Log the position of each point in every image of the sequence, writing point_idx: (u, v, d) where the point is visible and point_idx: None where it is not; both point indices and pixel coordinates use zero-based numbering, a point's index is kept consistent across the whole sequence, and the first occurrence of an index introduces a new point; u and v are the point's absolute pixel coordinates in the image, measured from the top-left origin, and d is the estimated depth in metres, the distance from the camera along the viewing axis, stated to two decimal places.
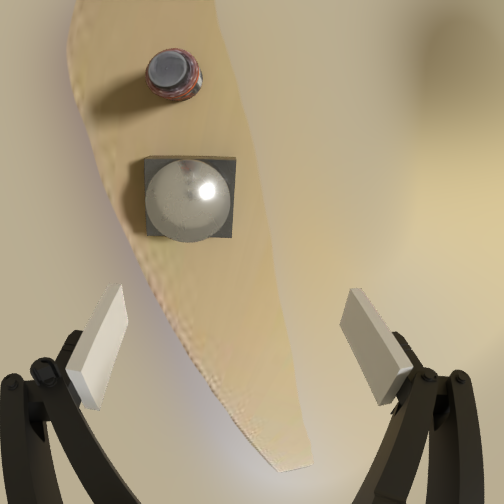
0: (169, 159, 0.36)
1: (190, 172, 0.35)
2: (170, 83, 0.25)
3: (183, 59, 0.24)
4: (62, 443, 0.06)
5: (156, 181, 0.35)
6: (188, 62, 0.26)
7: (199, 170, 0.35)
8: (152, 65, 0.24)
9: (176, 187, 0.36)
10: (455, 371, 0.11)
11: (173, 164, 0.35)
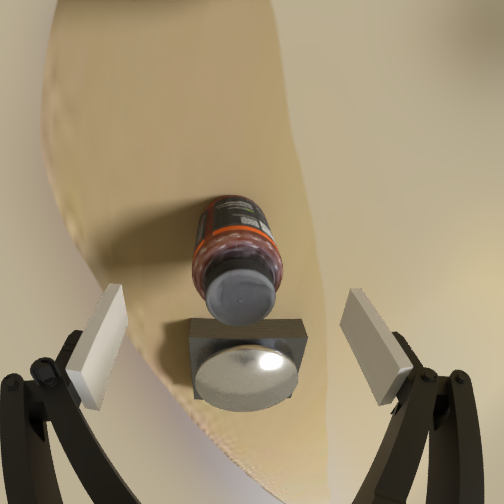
0: (222, 338, 0.28)
1: (253, 361, 0.28)
2: (247, 322, 0.17)
3: (270, 286, 0.16)
4: (62, 443, 0.06)
5: (209, 368, 0.28)
6: (271, 270, 0.18)
7: (265, 359, 0.28)
8: (213, 294, 0.16)
9: (235, 374, 0.28)
10: (455, 371, 0.11)
11: (232, 354, 0.27)
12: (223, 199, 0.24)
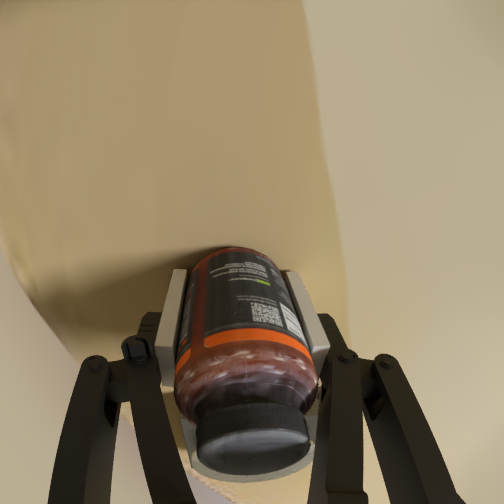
0: None
1: None
2: (263, 472, 0.09)
3: (305, 442, 0.08)
4: (134, 419, 0.08)
5: None
6: (303, 401, 0.10)
7: None
8: (210, 455, 0.08)
9: None
10: (378, 356, 0.12)
11: None
12: (221, 256, 0.16)
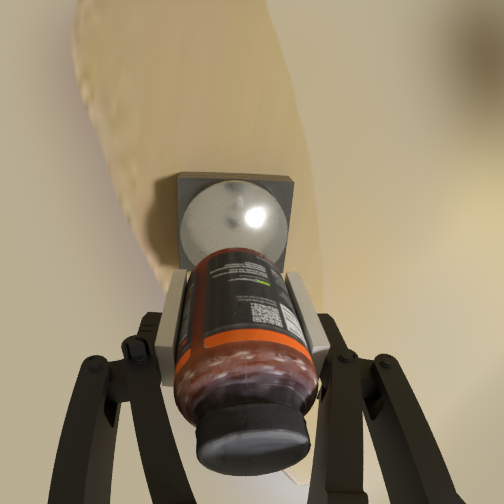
0: (210, 179, 0.29)
1: (239, 197, 0.29)
2: (263, 473, 0.09)
3: (305, 442, 0.08)
4: (135, 419, 0.08)
5: (195, 208, 0.29)
6: (303, 401, 0.10)
7: (251, 195, 0.29)
8: (210, 455, 0.08)
9: (221, 216, 0.29)
10: (378, 356, 0.12)
11: (218, 186, 0.28)
12: (221, 257, 0.16)
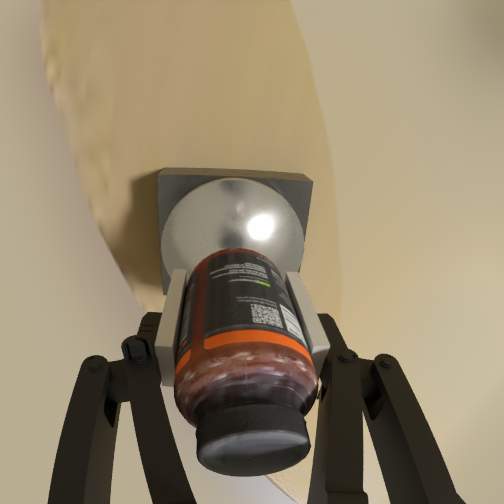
0: (201, 176, 0.22)
1: (240, 201, 0.21)
2: (263, 473, 0.09)
3: (304, 443, 0.08)
4: (135, 419, 0.08)
5: (180, 215, 0.21)
6: (303, 402, 0.10)
7: (257, 198, 0.21)
8: (210, 456, 0.08)
9: (215, 226, 0.22)
10: (378, 356, 0.12)
11: (211, 186, 0.20)
12: (221, 257, 0.16)
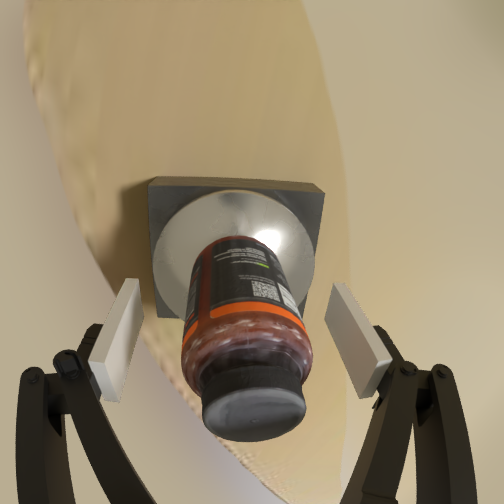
0: (197, 187, 0.19)
1: (243, 217, 0.18)
2: (263, 438, 0.11)
3: (300, 403, 0.10)
4: (80, 435, 0.07)
5: (173, 233, 0.18)
6: (298, 369, 0.11)
7: (261, 214, 0.18)
8: (214, 416, 0.09)
9: None
10: (436, 365, 0.11)
11: (209, 199, 0.18)
12: (224, 243, 0.17)
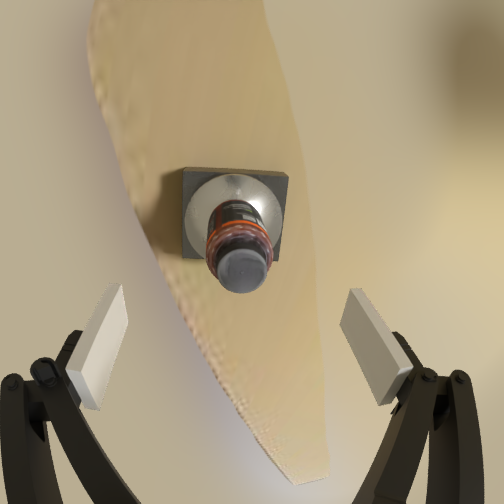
0: (212, 172, 0.32)
1: (239, 189, 0.32)
2: (246, 290, 0.24)
3: (263, 262, 0.23)
4: (62, 443, 0.06)
5: (198, 198, 0.32)
6: (264, 252, 0.25)
7: (250, 187, 0.32)
8: (223, 267, 0.23)
9: None
10: (455, 371, 0.11)
11: (220, 179, 0.31)
12: (228, 202, 0.31)
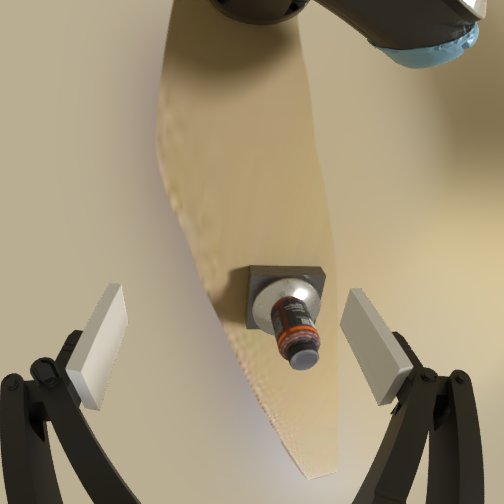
0: (273, 275, 0.46)
1: (293, 289, 0.45)
2: (305, 368, 0.37)
3: (317, 355, 0.36)
4: (62, 443, 0.06)
5: (264, 296, 0.45)
6: (316, 345, 0.38)
7: (300, 288, 0.45)
8: (294, 359, 0.36)
9: None
10: (455, 371, 0.11)
11: (280, 283, 0.44)
12: (286, 301, 0.44)
